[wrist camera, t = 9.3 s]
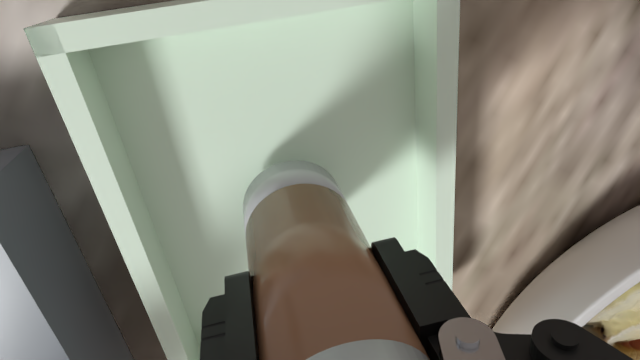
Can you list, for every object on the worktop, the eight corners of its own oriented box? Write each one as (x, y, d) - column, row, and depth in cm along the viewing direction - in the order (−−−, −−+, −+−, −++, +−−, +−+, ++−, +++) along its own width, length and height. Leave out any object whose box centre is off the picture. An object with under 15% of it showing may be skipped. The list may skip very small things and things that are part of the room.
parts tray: (54, 18, 14) (23, 28, 12) (427, -38, 16) (461, -39, 13) (187, 352, 22) (183, 395, 19) (429, 291, 23) (450, 325, 21)
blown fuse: (232, 171, 16) (251, 477, 7) (335, 151, 17) (492, 407, 7) (253, 255, 18) (291, 588, 8) (344, 234, 19) (479, 526, 9)
